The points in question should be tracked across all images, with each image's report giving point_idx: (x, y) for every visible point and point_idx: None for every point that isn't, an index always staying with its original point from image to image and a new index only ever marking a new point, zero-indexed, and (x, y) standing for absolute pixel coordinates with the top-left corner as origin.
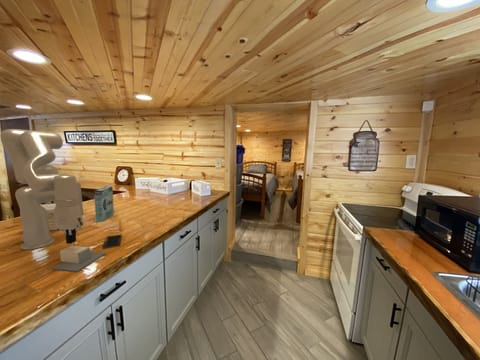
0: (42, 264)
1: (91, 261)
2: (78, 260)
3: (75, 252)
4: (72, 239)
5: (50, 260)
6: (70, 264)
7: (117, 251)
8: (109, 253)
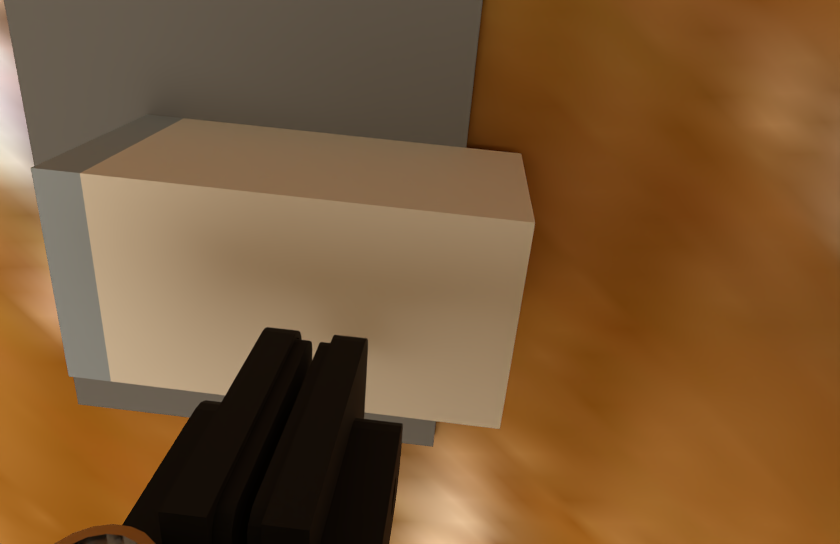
0: (800, 84)
1: None
2: (167, 131)
3: (138, 179)
4: (180, 432)
5: (761, 208)
6: (282, 75)
7: (8, 449)
8: (60, 405)
